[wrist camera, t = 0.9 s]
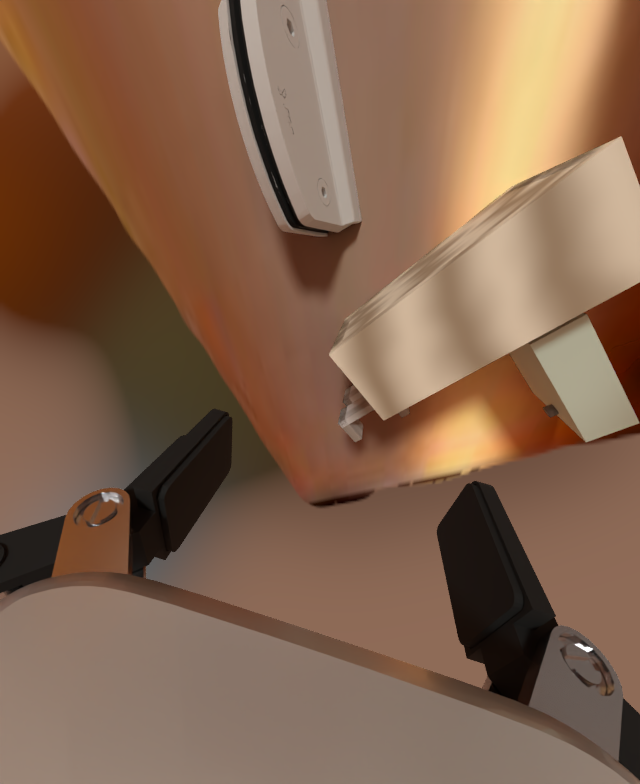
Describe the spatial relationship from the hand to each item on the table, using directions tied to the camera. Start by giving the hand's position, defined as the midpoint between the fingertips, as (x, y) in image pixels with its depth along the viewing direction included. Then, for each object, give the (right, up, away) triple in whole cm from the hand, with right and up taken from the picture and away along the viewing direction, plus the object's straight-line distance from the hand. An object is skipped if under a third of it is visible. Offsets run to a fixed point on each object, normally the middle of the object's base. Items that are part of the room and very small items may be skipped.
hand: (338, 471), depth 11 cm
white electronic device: (-2, +28, +16) cm, 32 cm away
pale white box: (+24, +8, +21) cm, 33 cm away
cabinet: (+11, +12, +22) cm, 27 cm away
